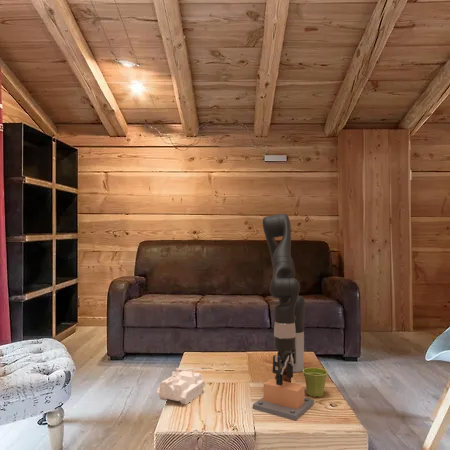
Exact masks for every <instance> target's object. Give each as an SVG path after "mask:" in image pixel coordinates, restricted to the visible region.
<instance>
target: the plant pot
mask: <svg viewBox="0 0 450 450" xmlns="http://www.w3.org/2000/svg"><path fill="white" fill-rule="evenodd" d="M302 373H303V376H304V379H305V388H306V393H307V395H308V396H309V395H310V397H312V396H313V398H315V397H316V398H317V397H319V398H322V397H323V396H324V393H325V386H326V385H325V384H326V380H327V379H326V378H327V376H328V374H329V372H328V371H327V370H326V369H324V368H319V367H306V368H305V367H304V369H303V371H302Z"/></svg>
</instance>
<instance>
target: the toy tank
mask: <svg viewBox="0 0 450 450" xmlns="http://www.w3.org/2000/svg"><path fill="white" fill-rule="evenodd" d="M175 370H176V371H175ZM175 370H174V371H171V376H169V377H168V378H165V379H164V380H162V381H161V382H160V384H159V386H158V387H157V391H156V393H157V394H158V397H159V398H160V399H159V400H162V401H168V400H170V401H171V400H172V401H176V402H180V404H181V403H183V404H182V405H185V404H188V403H189V402H190V403H192V402H193V401H194V400H196V399H197V398H199V395H200V394H201V395H202V394H203V388H204V387H205V386H206V384H205V381H204V380H203V375H202V373H201V372H194V370H193V369H187V368H181V367H176V368H175ZM179 370H181V371H180V372H179ZM201 395H200V396H201ZM196 397H197V398H196ZM195 398H196V399H195ZM193 399H194V400H193ZM192 400H193V401H192ZM191 401H192V402H191ZM190 403H189V404H190ZM189 404H188V405H189Z"/></svg>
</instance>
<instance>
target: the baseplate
mask: <svg viewBox="0 0 450 450" xmlns="http://www.w3.org/2000/svg"><path fill="white" fill-rule="evenodd" d="M313 404H315V399H312V398H309V397H308V396H307V397H306V396H305V403H304V404H303V405H302V406H301V407H300V408H298V409H294V408H290V407H286V406H282V405H278V404H274V403H270V402H267V401H263V397H261V398H259V399H258V400H257V401H255V402H254V403H252V410H256V411H260V412H264V413H267V414H271V415H273V416H278V417H280V418H285V419H289V420H293V421H297V420H298V419H299V418H300V417H301V416H303V415H304V414H305V413H306V412H307V411H308V410H309V409H310V408H311V407H313V406H314V405H313Z"/></svg>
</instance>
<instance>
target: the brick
mask: <svg viewBox="0 0 450 450" xmlns="http://www.w3.org/2000/svg"><path fill="white" fill-rule="evenodd" d="M305 388H306V385H303V384H298V383H294V382H291V383H290V382H286V381H283V385H281V386H280V385H277V384H276V379H275V378H270V379H268V380H267V381H265V382H264V383H263V396H262V398H263V401H267V402H270V403H274V404H278V405H282V406H286V407H290V408H294V409H298V408H300V407H301V406H302V405H303V404H304V403H305V397H306V396H305Z"/></svg>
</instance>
